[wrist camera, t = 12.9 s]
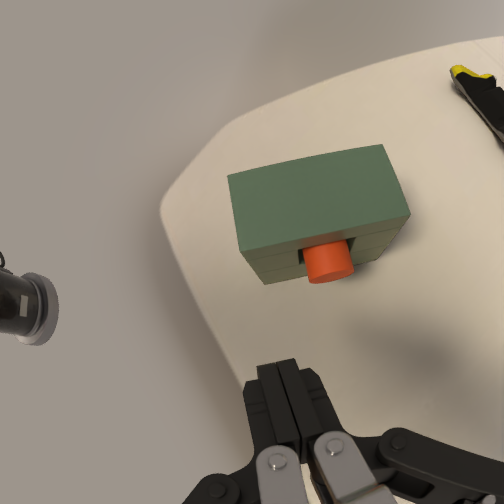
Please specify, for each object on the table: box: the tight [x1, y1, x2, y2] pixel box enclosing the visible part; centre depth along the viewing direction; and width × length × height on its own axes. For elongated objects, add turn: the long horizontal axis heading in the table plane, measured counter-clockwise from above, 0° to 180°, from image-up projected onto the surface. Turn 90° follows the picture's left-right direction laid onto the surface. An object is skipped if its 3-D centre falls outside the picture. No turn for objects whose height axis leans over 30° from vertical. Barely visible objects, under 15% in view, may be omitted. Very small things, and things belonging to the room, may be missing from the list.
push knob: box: [302, 239, 354, 284], centre depth 24 cm, size 3×4×4 cm
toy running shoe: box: [450, 65, 504, 143], centre depth 30 cm, size 15×6×10 cm
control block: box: [227, 144, 411, 285], centre depth 26 cm, size 6×12×12 cm, turn 100°
